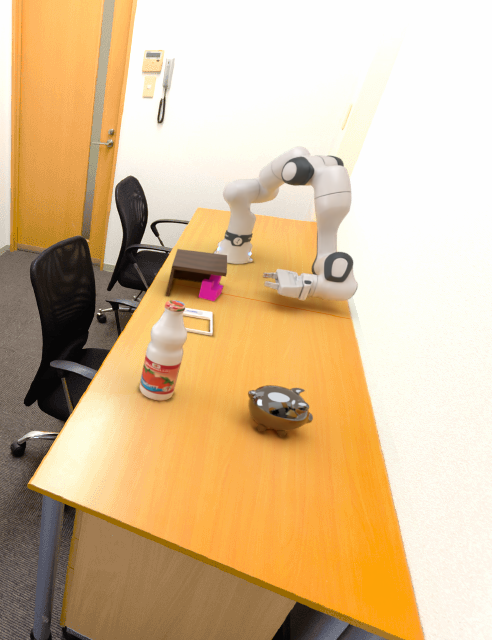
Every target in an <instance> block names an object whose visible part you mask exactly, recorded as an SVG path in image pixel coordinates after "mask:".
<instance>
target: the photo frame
mask: <svg viewBox="0 0 492 640" xmlns="http://www.w3.org/2000/svg"><path fill="white" fill-rule="evenodd" d="M213 313H214V312H213V311H209V310H202V309H197V308H190V307H185V310H184V312H183V317H191V318H197V319H202V320H203V319H204V320H207V321H209V331H206V330H200V329H195V328H188V327H185V328H186V330H187V333H188V332H189V333H194V334H200V335H205V336H213V334H214V333H213V332H214V331H213V329H214V327H213V321H214V320H213V317H214V316H213Z"/></svg>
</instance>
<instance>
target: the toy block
mask: <svg viewBox="0 0 492 640" xmlns="http://www.w3.org/2000/svg"><path fill="white" fill-rule="evenodd" d="M221 280H222V277H221V276H218V275H211V276H210V279H209V280H208V279H204V280H203V281H202V282H201V285H200V290H199V292H198V293H199V294H198V299H199V298H200V299H202V300H203V299H204V300H208V301H211V302H215V301H216V300H217V299H218V298H219V297H220V295H221V294H222V292H223V289H224V284H221ZM219 283H220V284H219Z"/></svg>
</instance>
